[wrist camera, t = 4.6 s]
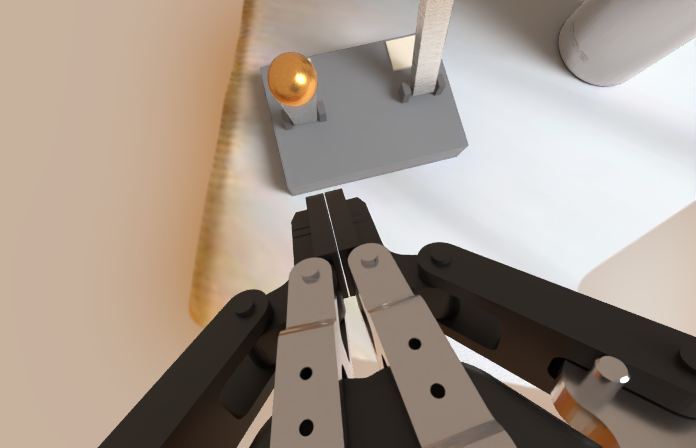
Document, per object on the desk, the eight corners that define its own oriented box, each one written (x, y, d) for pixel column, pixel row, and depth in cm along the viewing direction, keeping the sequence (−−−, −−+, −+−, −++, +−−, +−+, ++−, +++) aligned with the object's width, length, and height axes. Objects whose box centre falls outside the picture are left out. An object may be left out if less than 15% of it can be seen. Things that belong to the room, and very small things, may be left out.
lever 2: (429, 78, 29) (476, -167, 16) (438, 95, 28) (497, -153, 15) (404, 83, 29) (431, -159, 16) (413, 101, 28) (449, -143, 15)
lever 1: (314, 99, 27) (310, 39, 13) (320, 126, 28) (323, 96, 14) (287, 105, 27) (256, 50, 13) (294, 132, 28) (271, 108, 14)
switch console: (424, 50, 33) (437, 17, 28) (456, 156, 31) (475, 138, 27) (267, 85, 32) (255, 57, 27) (293, 195, 30) (284, 184, 26)
